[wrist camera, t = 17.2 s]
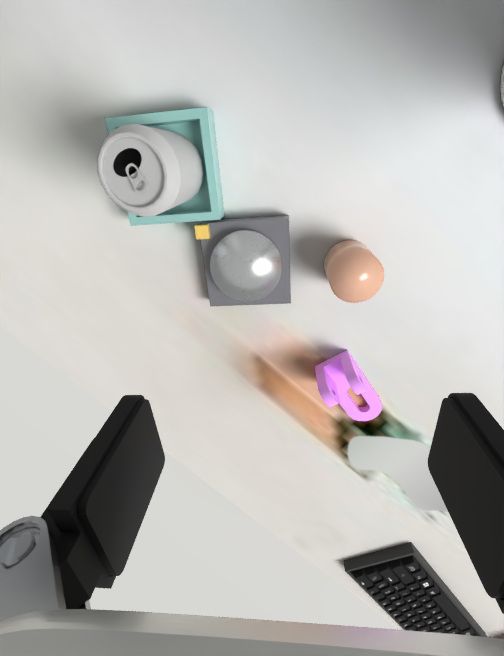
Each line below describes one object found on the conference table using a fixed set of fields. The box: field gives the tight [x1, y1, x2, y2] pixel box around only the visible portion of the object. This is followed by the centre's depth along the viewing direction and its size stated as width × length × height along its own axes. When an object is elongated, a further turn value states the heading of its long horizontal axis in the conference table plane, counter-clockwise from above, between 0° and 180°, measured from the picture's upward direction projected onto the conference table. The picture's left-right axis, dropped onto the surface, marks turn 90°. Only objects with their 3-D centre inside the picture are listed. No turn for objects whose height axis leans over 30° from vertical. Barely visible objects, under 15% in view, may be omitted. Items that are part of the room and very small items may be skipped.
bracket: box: [315, 350, 382, 421], centre depth 48 cm, size 13×6×7 cm, turn 36°
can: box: [98, 124, 204, 217], centre depth 33 cm, size 8×8×12 cm
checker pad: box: [210, 229, 282, 301], centre depth 41 cm, size 9×9×1 cm
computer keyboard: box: [344, 542, 486, 637], centre depth 78 cm, size 45×16×4 cm, turn 36°
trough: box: [105, 107, 224, 226], centre depth 37 cm, size 11×11×3 cm
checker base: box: [194, 215, 291, 306], centre depth 42 cm, size 11×11×3 cm
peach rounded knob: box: [324, 240, 384, 303], centre depth 40 cm, size 6×6×6 cm
